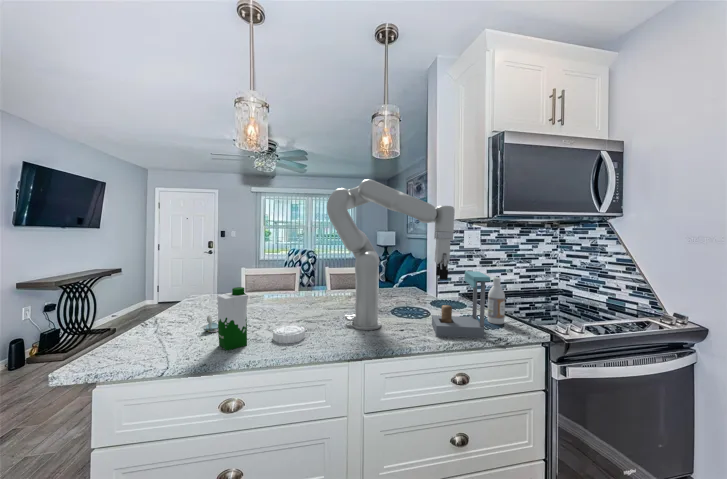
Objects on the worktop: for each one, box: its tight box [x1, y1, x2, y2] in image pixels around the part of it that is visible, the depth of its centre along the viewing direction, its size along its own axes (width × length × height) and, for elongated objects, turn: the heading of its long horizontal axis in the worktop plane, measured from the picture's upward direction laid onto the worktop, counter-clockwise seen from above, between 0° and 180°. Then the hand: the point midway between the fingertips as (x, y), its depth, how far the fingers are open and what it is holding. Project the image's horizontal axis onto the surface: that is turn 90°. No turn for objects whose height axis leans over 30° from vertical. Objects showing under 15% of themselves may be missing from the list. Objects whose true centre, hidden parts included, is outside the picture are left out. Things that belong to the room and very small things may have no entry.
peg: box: [441, 304, 453, 323], centre depth 126 cm, size 4×4×10 cm
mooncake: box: [272, 324, 306, 344], centre depth 117 cm, size 12×12×4 cm
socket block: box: [431, 314, 485, 339], centre depth 125 cm, size 18×14×4 cm
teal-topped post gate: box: [464, 270, 491, 328], centre depth 124 cm, size 6×15×24 cm, turn 174°
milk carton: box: [216, 286, 249, 351], centre depth 108 cm, size 9×9×20 cm
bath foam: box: [487, 276, 506, 325], centre depth 137 cm, size 7×7×20 cm
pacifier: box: [203, 315, 218, 333], centre depth 124 cm, size 7×6×6 cm
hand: (441, 277), depth 127 cm, fingers open, 9 cm apart
